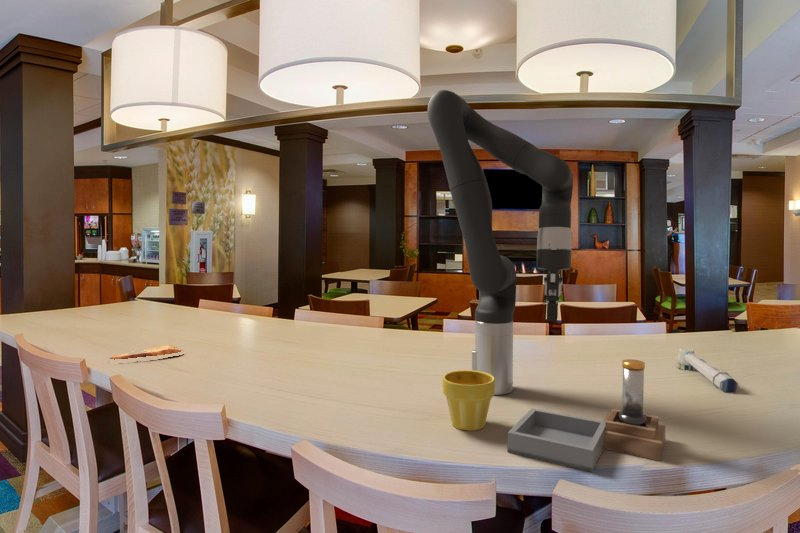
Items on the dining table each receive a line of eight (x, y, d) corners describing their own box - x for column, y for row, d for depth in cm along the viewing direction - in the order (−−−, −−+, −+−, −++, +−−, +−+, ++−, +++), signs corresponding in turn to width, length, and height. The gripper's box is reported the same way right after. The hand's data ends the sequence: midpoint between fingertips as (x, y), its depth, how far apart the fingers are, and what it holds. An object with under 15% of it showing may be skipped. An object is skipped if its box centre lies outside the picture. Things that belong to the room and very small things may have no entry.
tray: (507, 452, 84) (507, 432, 83) (531, 425, 95) (531, 408, 95) (592, 472, 76) (592, 450, 76) (607, 440, 88) (607, 422, 88)
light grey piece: (718, 377, 115) (672, 341, 139) (716, 403, 116) (670, 363, 140) (742, 378, 114) (691, 342, 138) (739, 404, 115) (689, 363, 140)
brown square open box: (597, 447, 85) (597, 422, 85) (606, 428, 93) (607, 406, 93) (661, 461, 80) (661, 434, 79) (665, 439, 88) (665, 415, 88)
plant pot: (489, 438, 89) (489, 386, 89) (436, 430, 93) (436, 381, 93) (498, 418, 99) (499, 372, 99) (450, 412, 103) (450, 367, 102)
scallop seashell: (101, 365, 147) (101, 353, 146) (143, 352, 164) (143, 341, 164) (153, 368, 143) (153, 355, 143) (190, 353, 161) (190, 342, 161)
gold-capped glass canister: (617, 428, 86) (618, 362, 85) (620, 421, 89) (621, 357, 89) (644, 434, 83) (645, 366, 83) (647, 425, 87) (648, 360, 86)
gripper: (538, 250, 117) (536, 316, 116) (535, 245, 103) (533, 321, 103) (570, 250, 114) (569, 318, 114) (572, 246, 101) (570, 323, 100)
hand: (552, 319), depth 108 cm, fingers open, 8 cm apart
